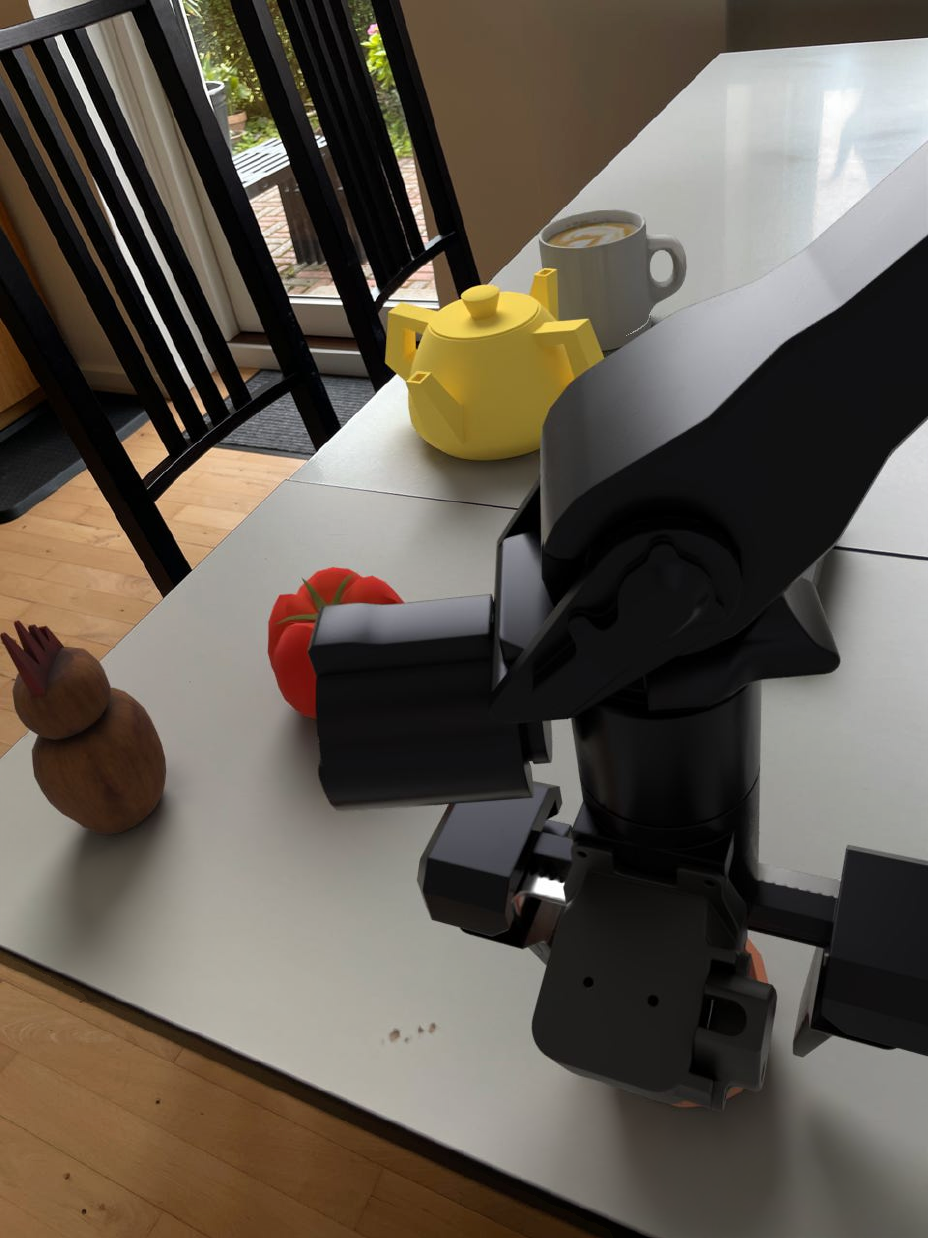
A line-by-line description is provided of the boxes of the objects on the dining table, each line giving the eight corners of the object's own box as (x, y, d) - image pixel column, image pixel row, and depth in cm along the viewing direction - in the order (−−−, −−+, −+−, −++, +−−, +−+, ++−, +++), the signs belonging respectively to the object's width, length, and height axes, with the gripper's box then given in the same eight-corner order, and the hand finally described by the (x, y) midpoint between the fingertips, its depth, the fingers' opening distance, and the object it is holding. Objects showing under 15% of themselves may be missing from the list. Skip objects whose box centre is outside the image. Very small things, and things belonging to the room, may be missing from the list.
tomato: (348, 629, 69) (319, 540, 64) (451, 665, 64) (428, 571, 59) (254, 717, 63) (215, 627, 59) (359, 763, 58) (326, 669, 54)
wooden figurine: (136, 860, 56) (15, 661, 46) (55, 843, 58) (-76, 649, 48) (198, 769, 60) (99, 572, 51) (121, 757, 62) (13, 566, 53)
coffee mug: (542, 354, 97) (529, 252, 90) (559, 311, 104) (548, 214, 98) (683, 346, 93) (679, 239, 87) (691, 302, 100) (687, 200, 94)
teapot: (623, 442, 81) (611, 300, 74) (426, 494, 80) (394, 356, 73) (564, 363, 95) (549, 236, 87) (394, 407, 94) (364, 282, 86)
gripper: (295, 895, 30) (403, 1127, 40) (985, 1089, 23) (912, 1317, 32) (443, 653, 38) (504, 898, 47) (998, 738, 30) (935, 1009, 40)
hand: (684, 1012), depth 41 cm, fingers open, 9 cm apart
